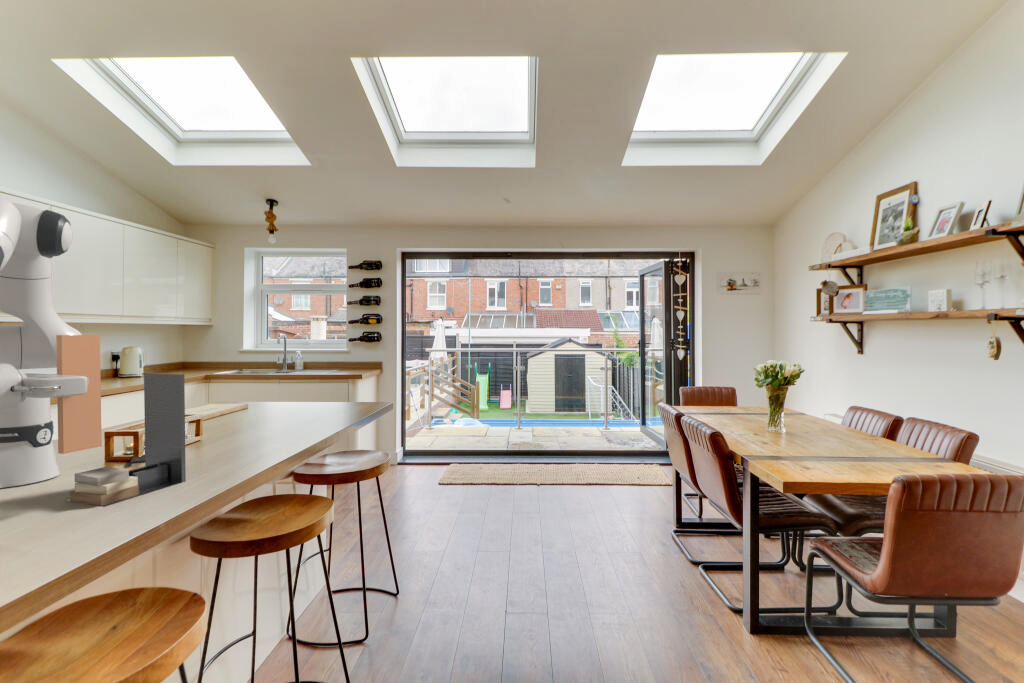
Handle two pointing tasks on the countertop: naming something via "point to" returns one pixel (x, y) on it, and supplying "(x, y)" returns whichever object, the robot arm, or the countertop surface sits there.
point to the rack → (162, 434)
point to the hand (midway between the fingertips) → (81, 380)
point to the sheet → (79, 411)
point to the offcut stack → (104, 486)
